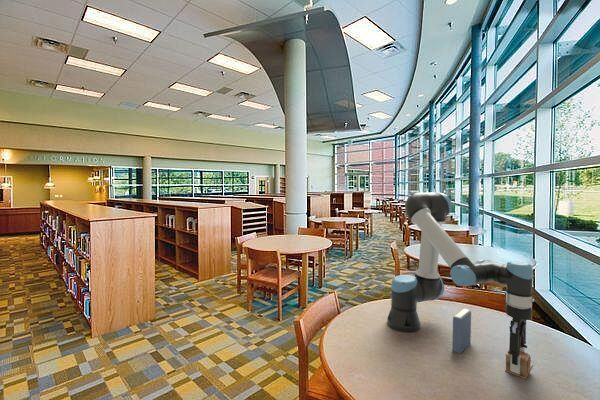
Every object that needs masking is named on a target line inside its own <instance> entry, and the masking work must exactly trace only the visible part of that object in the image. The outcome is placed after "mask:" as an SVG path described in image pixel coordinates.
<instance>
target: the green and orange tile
mask: <svg viewBox="0 0 600 400" xmlns="http://www.w3.org/2000/svg"><path fill="white" fill-rule="evenodd" d="M504 371H505V372H507V373H509V374H512V375H515V376H517V377H519V378H522V379H524V380H525V379H527V377H525V376H523V375H519V374H517V373H514V372H511V371H509V370H506V368H505V369H504Z"/></svg>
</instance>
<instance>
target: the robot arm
mask: <svg viewBox="0 0 600 400" xmlns="http://www.w3.org/2000/svg"><path fill="white" fill-rule="evenodd" d="M404 204H405V205H404V211H405V214H406V216H407V217H408V220H409V221H410V222H411V223H412V224H413V225H416V226H417V227H418V228H419V229H420V231H421V233H420V234H421V235H420V246H419V247H420V249H419V255H418V256H419V259H418V268H417V269H416V270H414V275H412V274H399V275H395V276H394V277H393V278H392V279H391V285H390V289H391V290H390V291H391V293H390V294H391V296H390V299H391V300H390V310H389V313H388V316H387V321H386V322H387V323H386V324H387V325H388V327H390V328H391V329H393V330H395V331H397V332H398V331H399V332H403V333H414V332H417V331H420V329H421V321H420V318H419V314H418V311H417V308H418V307H417V303H422V302H427V301H435V300H437V299H440V298H441V297H443V295H444V293H445V283H443V282H444V281H443V279H442V278H441V275H440V273H439V272H438V268H439V267H438V265H439V255H440V256H441V258H442V259H443V260H444V262H445V263H446V264H447V266H448V267H449V268H450V273H449V274H450V277H451V280H452V282H453V284H455V285H457V286H460V287H467V286H468V287H470V286H474V285H478V284H479V285H480V284H487V283H496V284H499V285H503V286H505V287H506V289H505V290H506V291H505V292H506V293H505V303H506V304H505V314H506V315H507V316H508V317H510V318H511V319H512V320H510V323H509V324H510V326H509V349H508V350H509V351H508V350H507V352H508V353H509V354H511V357H510V371H511V372H514V373H517V374H519V375H520V351H522V352H525V349H527V348H528V345H526V343H527V338H526V337H527V321H530V320H531V319H532V318H533V308H532V307H533V303H534V302H535V299H534V298H533V285H534V284H533V283H534V282H533V281H534V274H533V269H534V267H533V266H532V265H531V264H530V263H529V262H525V261H519V260H509V261H507V262H506V264H504V263H499V262H496V261H492V260H489V259H478V260H476V262H474V263H473V262H472V261H471V260H470V258H469V257H468V256H467V255H466V254H465V253H464V252H463V250H462V249H461V248H460V247H459V245H458V244H457V243H456V241H454V240H453V239H452V238H451V236H450V235H449V234H448V233H447V232H446V230H445V229H444V228H443V226H442V225H443V224H444V223H445V222H446V219H447V216H449V215H450V214H451V212H452V209H453V202H452V201H451V199H450V197H449V196H448V195H447V194H445V193H443V192H437V191H436V192H415V193H412V194H411V195H410V196H408V198H406V201H405V203H404Z"/></svg>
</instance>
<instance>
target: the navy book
mask: <svg viewBox="0 0 600 400" xmlns="http://www.w3.org/2000/svg"><path fill="white" fill-rule="evenodd" d="M471 333H472V310H470V309H467V308H463V309H461V310H460V311H459V312H457V313H456V314H454V315H453V316H452V347H451V348H452V349H451V351H453V352H454V353H457V354H459V355H460V354H462V353H463V352H464V350H466V349H467V347H469V345H470V344H471V336H472V334H471Z"/></svg>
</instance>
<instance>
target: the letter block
mask: <svg viewBox="0 0 600 400" xmlns="http://www.w3.org/2000/svg"><path fill="white" fill-rule="evenodd" d="M508 351H509V349H508V350H507V352H506V353H505V369H506V370H509V371H510V357H511V354H509V353H508ZM531 360H532V358H531V354H530V353H528V352H525V351H524V352H522V351H520V375H523V376H525V377H526V378H527V376H528V375H529V372H530V371H531V369H532V367H531V364H532V362H531ZM530 368H531V369H530Z"/></svg>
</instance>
